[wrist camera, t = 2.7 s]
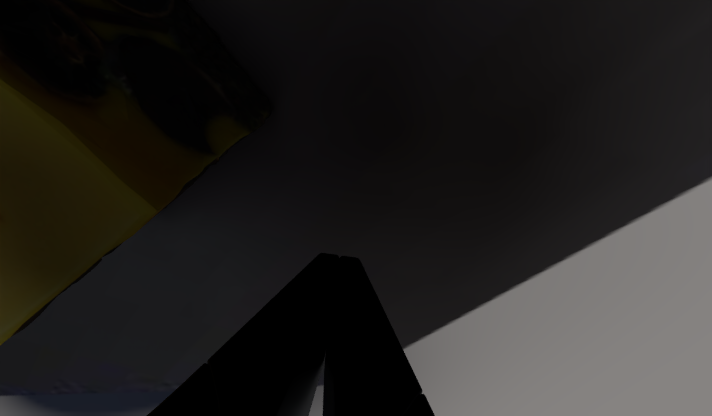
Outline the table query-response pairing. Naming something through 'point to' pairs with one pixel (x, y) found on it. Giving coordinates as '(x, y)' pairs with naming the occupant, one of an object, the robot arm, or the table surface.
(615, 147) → the table surface
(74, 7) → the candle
